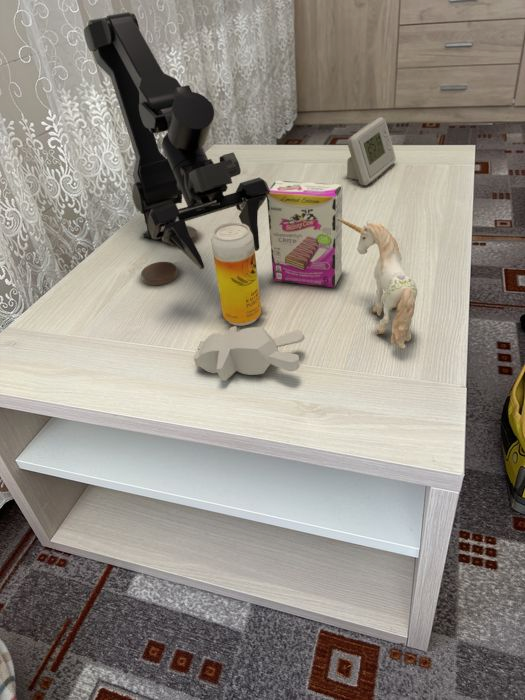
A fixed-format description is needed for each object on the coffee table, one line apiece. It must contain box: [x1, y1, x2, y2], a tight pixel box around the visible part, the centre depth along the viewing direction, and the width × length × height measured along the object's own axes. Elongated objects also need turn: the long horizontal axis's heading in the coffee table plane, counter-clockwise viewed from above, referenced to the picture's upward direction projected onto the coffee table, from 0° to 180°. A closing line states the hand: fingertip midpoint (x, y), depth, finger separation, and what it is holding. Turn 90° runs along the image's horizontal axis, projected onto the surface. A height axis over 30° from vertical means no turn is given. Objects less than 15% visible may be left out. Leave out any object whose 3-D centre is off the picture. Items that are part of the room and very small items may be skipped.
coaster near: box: [140, 261, 178, 287], centre depth 100 cm, size 6×6×1 cm
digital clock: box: [346, 116, 397, 186], centre depth 125 cm, size 16×9×11 cm, turn 134°
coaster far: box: [165, 225, 199, 248], centre depth 110 cm, size 6×6×1 cm
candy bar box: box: [266, 180, 343, 289], centre depth 90 cm, size 11×5×16 cm, turn 71°
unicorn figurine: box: [336, 218, 418, 349], centre depth 80 cm, size 7×20×13 cm, turn 20°
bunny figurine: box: [192, 325, 305, 381], centre depth 77 cm, size 10×5×15 cm
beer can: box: [210, 222, 262, 327], centre depth 83 cm, size 6×6×15 cm
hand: (230, 258), depth 83 cm, fingers open, 9 cm apart
